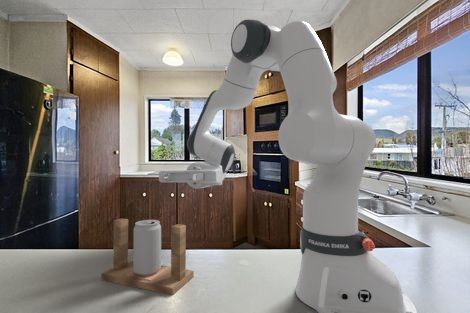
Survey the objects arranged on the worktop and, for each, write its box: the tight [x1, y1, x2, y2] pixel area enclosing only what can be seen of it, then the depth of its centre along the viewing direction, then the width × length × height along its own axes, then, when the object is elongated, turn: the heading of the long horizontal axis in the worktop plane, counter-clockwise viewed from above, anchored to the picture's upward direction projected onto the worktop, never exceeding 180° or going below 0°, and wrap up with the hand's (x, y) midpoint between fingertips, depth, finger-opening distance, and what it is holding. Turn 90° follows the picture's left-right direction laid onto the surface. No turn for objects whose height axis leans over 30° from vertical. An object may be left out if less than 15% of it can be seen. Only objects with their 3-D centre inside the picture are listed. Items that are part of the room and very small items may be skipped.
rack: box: [101, 218, 195, 296], centre depth 62 cm, size 20×9×14 cm, turn 70°
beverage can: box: [132, 219, 162, 276], centre depth 62 cm, size 6×6×12 cm
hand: (176, 177), depth 73 cm, fingers open, 8 cm apart
